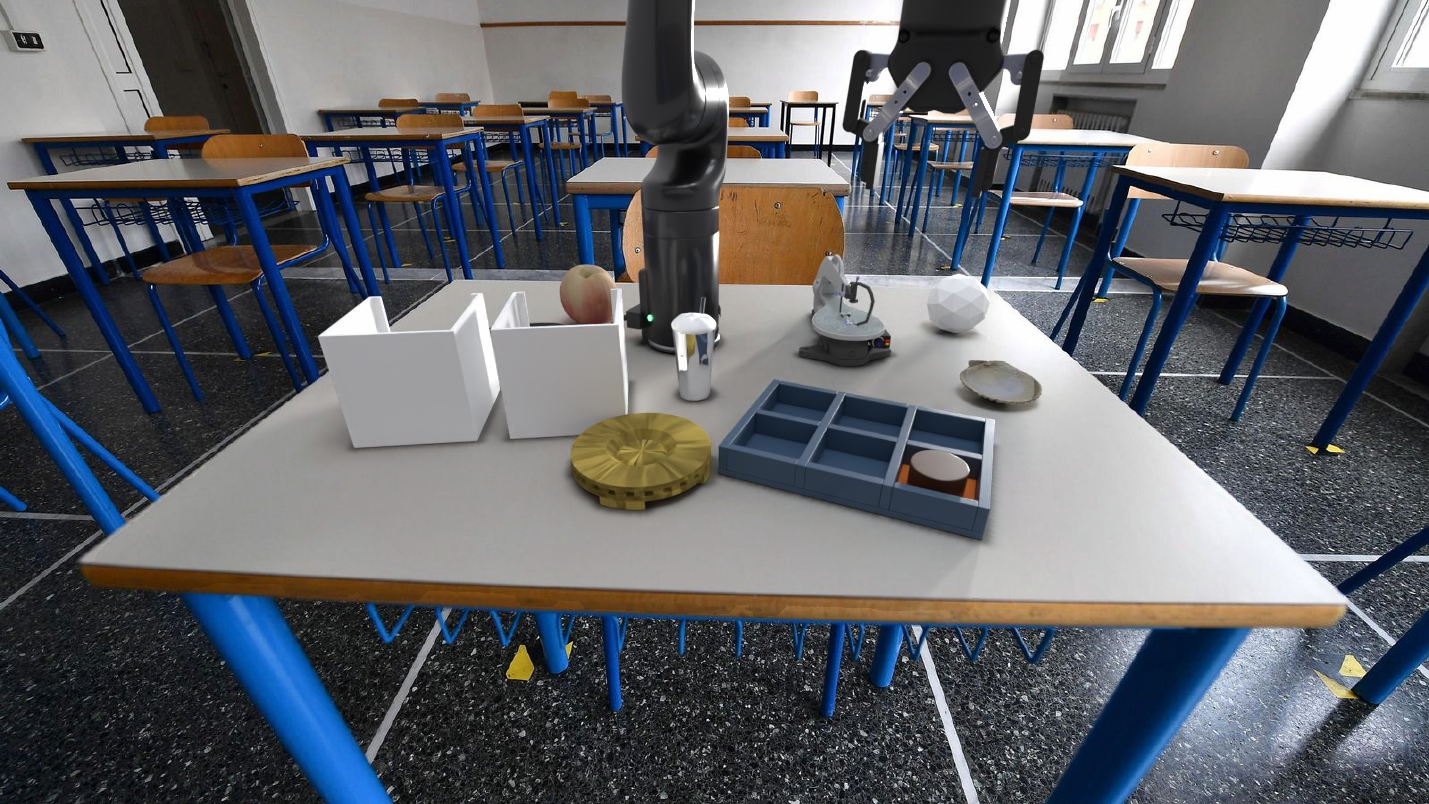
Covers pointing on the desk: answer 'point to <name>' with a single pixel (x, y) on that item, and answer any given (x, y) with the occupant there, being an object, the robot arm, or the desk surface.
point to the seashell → (1000, 382)
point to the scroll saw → (843, 320)
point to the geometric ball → (958, 303)
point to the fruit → (587, 294)
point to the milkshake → (694, 353)
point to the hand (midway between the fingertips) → (921, 192)
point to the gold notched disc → (641, 458)
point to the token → (938, 472)
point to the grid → (861, 453)
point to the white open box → (474, 375)
